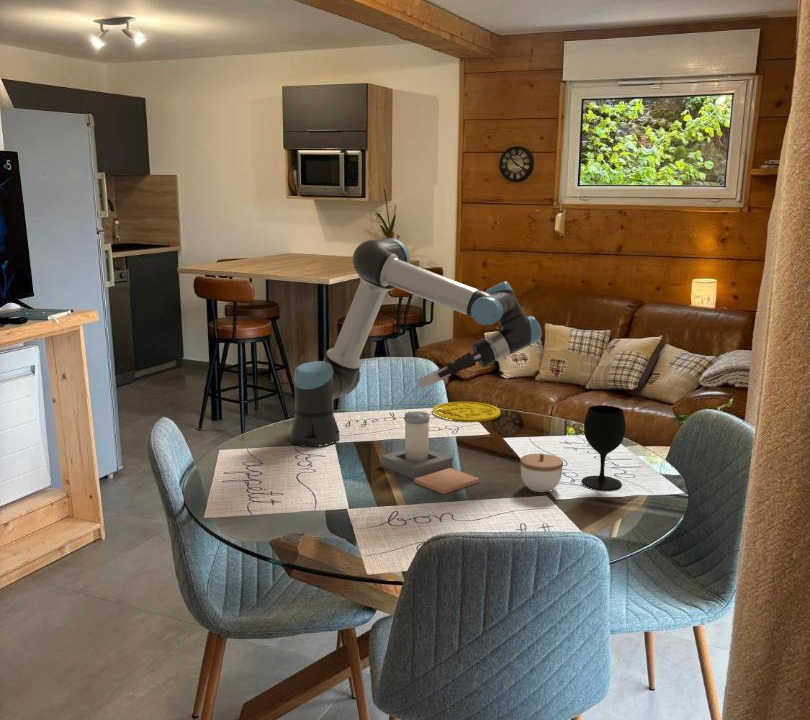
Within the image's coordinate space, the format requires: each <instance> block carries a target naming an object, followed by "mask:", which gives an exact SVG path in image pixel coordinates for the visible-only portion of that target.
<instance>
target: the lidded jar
mask: <svg viewBox="0 0 810 720" xmlns="http://www.w3.org/2000/svg"><path fill="white" fill-rule="evenodd" d="M519 460H520V461H519V462H520V476H521V479H522V481H523V483H524V485H525V486H526V487H527V488H528V490H529V489H531V490H534V491H538V492H545V491H550V490H552V489H553V490H554V489H555V488H556V487H557V486H558V485H559V483H560V482H561V478H562V474H563V467H564V461H563V459H562V458H560V457H558V456H556V455H554V454H547V453H530V454H525V455H523V456H521V457H520V459H519ZM553 490H552V491H553Z"/></svg>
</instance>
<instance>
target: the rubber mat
mask: <svg viewBox="0 0 810 720" xmlns="http://www.w3.org/2000/svg"><path fill="white" fill-rule="evenodd" d="M413 482H414V483H415V484H418V485H420V486H422V487H424V488H427V489H429V490H432V491H435V492H437V493H439V494H442V495H445V494H448V493H451V492H454V491H456V490H460V489H463V488H466V487H469V486H472V485H475V484H479V483H480V478H478V477H476V476H473V475H471V474H468V473H465V472H462V471H460V470H456V469H454V468H448V469H445V470H441V471H438V472H435V473H432V474H428V475H425V476H422V477H418V478H415V479H413Z"/></svg>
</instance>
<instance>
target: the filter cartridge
mask: <svg viewBox="0 0 810 720" xmlns="http://www.w3.org/2000/svg"><path fill="white" fill-rule="evenodd" d="M404 422H405V423H404V426H405V427H404V428H405V429H404V432H405V433H404V435H405V436H404V439H405V440H404V441H405V442H404V445H405V446H404V449H405V460H407V461H409V462H412V463H415V464H417V463H420V462H424V461H427V460H428V449H429V442H430V441H429V438H430V437H429V435H430V434H429V430H430V429H429V427H430V424H429V423H430V413H428V412H425V411H408V412H405V413H404Z"/></svg>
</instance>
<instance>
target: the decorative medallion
mask: <svg viewBox="0 0 810 720" xmlns="http://www.w3.org/2000/svg"><path fill="white" fill-rule="evenodd" d="M438 408H442V409H438ZM437 409H438V410H437ZM433 412H434V413H435V414H437V415H439V416H441V417H444V418H448V419H452V420H456V421H455V422H458V421H462V422H461V423H477V422H479V423H480V422H487V421H491V420H495V419H498V418H499V417H500V416H501V414H502V413H501V410H500V408H499V407H497V406H495V405H491V404H490V403H489V404H488V403H484V402H483V403H482V402H476V401H475V402H474V401H453V402H445V403H441V404H438V405H437V404H436V405H435V406H434V407H433V408H432V413H433ZM439 412H441V413H443V414H441V413H439Z"/></svg>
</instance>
